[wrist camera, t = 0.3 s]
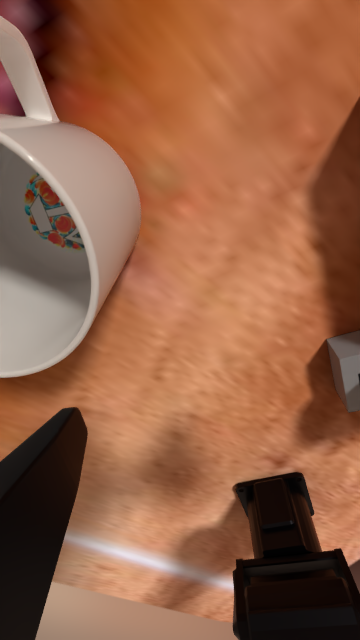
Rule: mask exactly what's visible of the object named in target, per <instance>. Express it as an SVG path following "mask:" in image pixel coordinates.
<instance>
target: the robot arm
mask: <svg viewBox="0 0 360 640" xmlns="http://www.w3.org/2000/svg"><path fill="white" fill-rule="evenodd" d="M87 434H88V433H87V427H86V425H85V422H84V420H83V417H82V415H81V412H80V410H79V409H78V408H76V407H71V408H64V409H62V410H60V411H59V412H58V413H57V414H56V415H55V416H53V417H52V418H51V419H50V420H49V421H47V422H46V423H45V424H44V425H43V426H42V427H40V428H39V429H38V430H37V431H36V432H35V433H33V434H32V435H31V436H30V437H29V438H28V439H26V440H25V441H24V442H23V443H22V444H21V445H19V446H18V447H17V448H16V449H15V450H14V451H12V452H11V453H10V454H9V455H8V456H7V457H5V458H4V459H3V460H2V461H1V462H0V640H35V638H36V634H37V631H38V627H39V624H40V620H41V617H42V613H43V610H44V606H45V603H46V599H47V596H48V592H49V589H50V585H51V582H52V579H53V575H54V572H55V568H56V565H57V561H58V558H59V554H60V551H61V547H62V544H63V540H64V537H65V533H66V530H67V526H68V523H69V519H70V516H71V512H72V509H73V505H74V502H75V498H76V494H77V491H78V486H79V481H80V476H81V470H82V464H83V459H84V453H85V447H86V442H87ZM236 492H237V494H238V497H239V499H240V501H241V503H242V506H243V508H244V510H245V512H246V515H247V517H248V519H249V524H250V531H251V538H252V545H253V552H254V559H248V560H243V559H236V569H235V570H234V571H233V583H234V611H233V632H234V635H235V636H236V637H237V638H238V639H239V640H360V593H359V591H358V589H357V586H356V584H355V581H354V579H353V576H352V574H351V571H350V569H349V567H348V564H347V562H346V559H345V557H344V555H343V552H342V550H341V548H339V549H334V550H333V551H323V552H322V550H321V546H320V543H319V540H318V537H317V533H316V530H315V527H314V524H313V520H312V517H311V516H313V515H314V510H313V507H312V503H311V500H310V496H309V493H308V489H307V486H306V482H305V479H304V476H303V474H302V473H293V474H287V475H282V476H277V477H272V478H266V479H261V480H256V481H251V482H246V483H240V484H237V485H236Z"/></svg>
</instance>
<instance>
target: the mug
mask: <svg viewBox="0 0 360 640" xmlns="http://www.w3.org/2000/svg"><path fill="white" fill-rule="evenodd" d="M0 60H1V62H2V64H3V66H4V68H5V71H6V73H7V75H8V77H9V79H10V81H11V83H12V85H13V88H14V90H15V92H16V94H17V96H18V98H19V100H20V102H21V104H22V107H23V109H24V111H25V114H26V117H24V116H16V115H8V114H0V378H10V377H19V376H24V375H30V374H33V373H36V372H40V371H42V370H45V369H47V368H49V367H51V366H53V365H55V364H57V363H58V362H60V361H61V360H63V359H64V358H66V357H67V356H68V355H69V354H70V353H72V352H73V351H74V350H75V349H76V347H77V346H78V345H79V344H80V343H81V342H82V340H83V339H84V337H85V336H86V334H87V333H88V331H89V329H90V327H91V325H92V323H93V322H94V320H95V318H96V316H97V314H98V313H99V311H100V309H101V307H102V305H103V303H104V302H105V300H106V298H107V296H108V294H109V293H110V291H111V289H112V287H113V285H114V283H115V282H116V280H117V278H118V276H119V274H120V272H121V271H122V269H123V267H124V265H125V263H126V262H127V260H128V258H129V256H130V254H131V252H132V251H133V249H134V247H135V244H136V242H137V239H138V236H139V232H140V226H141V204H140V198H139V194H138V190H137V187H136V184H135V182H134V179H133V177H132V175H131V173H130V171H129V169H128V168H127V166H126V164H125V163H124V161H123V160H122V159H121V157H120V156H119V155H118V154H117V153H116V152H115V150H114V149H113V148H112V147H111V146H109V145H108V144H107V143H106V142H105V141H104V140H102V139H101V138H100V137H98V136H97V135H95V134H94V133H92V132H90V131H88V130H86V129H84V128H82V127H80V126H77V125H74V124H71V123H67V122H62V121H59V119H58V117H57V115H56V113H55V111H54V108H53V106H52V103H51V101H50V98H49V96H48V93H47V91H46V88H45V85H44V83H43V80H42V78H41V75H40V72H39V70H38V67H37V65H36V62H35V59H34V57H33V54H32V52H31V49H30V47H29V45H28V43H27V41H26V40H25V38H24V36H23V35H22V33H21V32H20V31H19V30H18V29H17V28H16V27H15V26H14V25H12V24H11V23H10V22H8V21H7V20H5V19H4V18H3V17H1V16H0Z"/></svg>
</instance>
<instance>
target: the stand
mask: <svg viewBox="0 0 360 640" xmlns="http://www.w3.org/2000/svg"><path fill="white" fill-rule="evenodd" d="M326 340H327V345H328V351H329V356H330V361H331V367H332V372H333V378H334V383H335V388H336V391H337V393H338V395H339V396H340V398H341V400H342V402H343V404H344V405H345V407H346V409H347V411H348V413H350V412H354V411H359V410H360V330H359V331H355V332H351V333H347V334H344V335H340V336H336V337H332V338H329V339H326Z"/></svg>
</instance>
